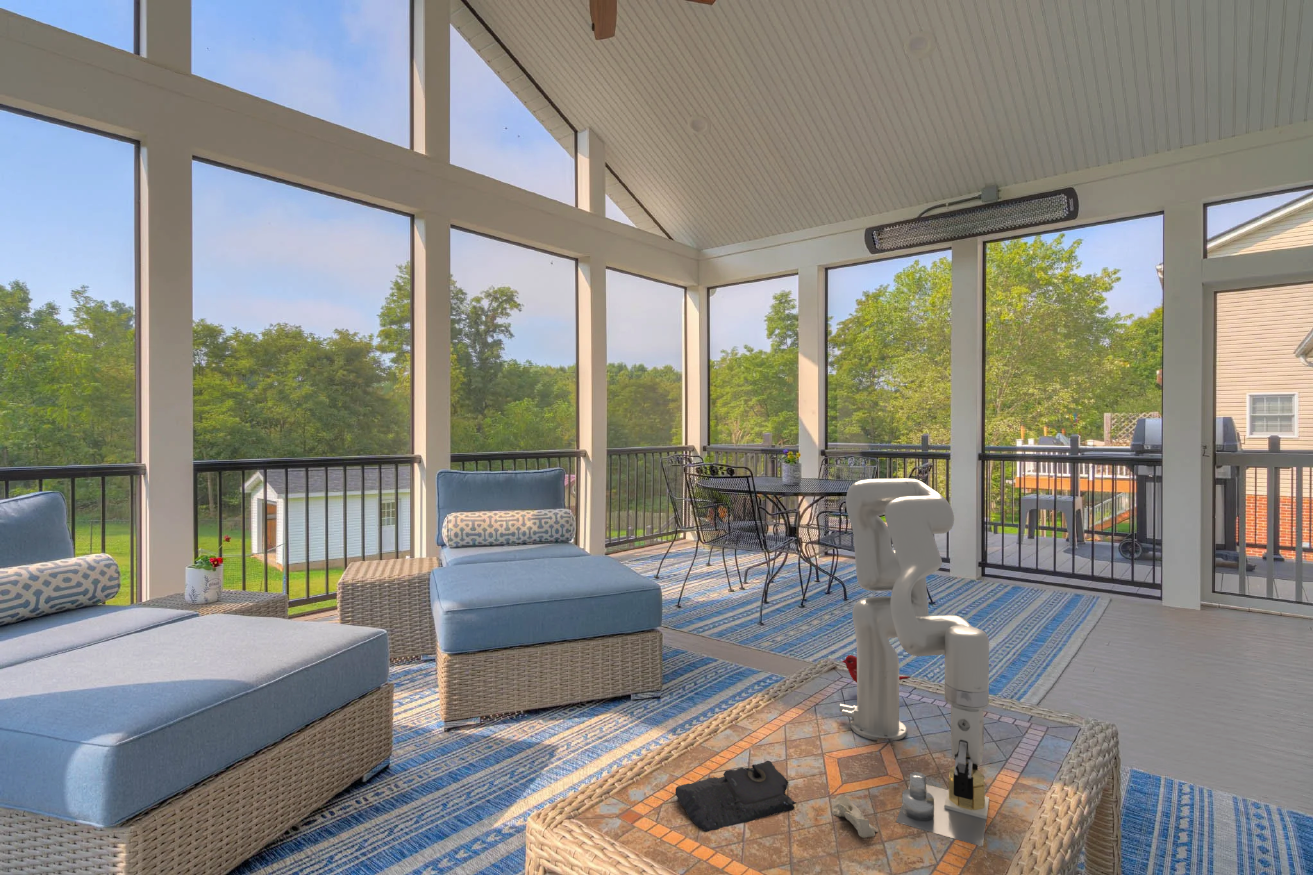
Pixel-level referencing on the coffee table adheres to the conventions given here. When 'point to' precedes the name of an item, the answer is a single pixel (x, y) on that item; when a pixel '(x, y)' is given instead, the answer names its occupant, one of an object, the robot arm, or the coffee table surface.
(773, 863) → the coffee table surface
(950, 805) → the pad
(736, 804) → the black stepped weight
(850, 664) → the decorative bird figurine
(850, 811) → the beige bone fragment
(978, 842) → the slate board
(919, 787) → the grey knob
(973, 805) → the gold lidded jar
